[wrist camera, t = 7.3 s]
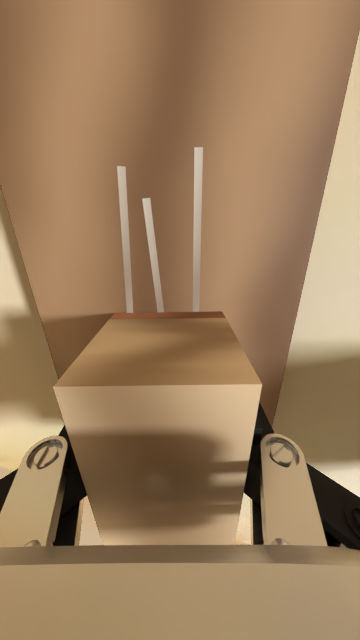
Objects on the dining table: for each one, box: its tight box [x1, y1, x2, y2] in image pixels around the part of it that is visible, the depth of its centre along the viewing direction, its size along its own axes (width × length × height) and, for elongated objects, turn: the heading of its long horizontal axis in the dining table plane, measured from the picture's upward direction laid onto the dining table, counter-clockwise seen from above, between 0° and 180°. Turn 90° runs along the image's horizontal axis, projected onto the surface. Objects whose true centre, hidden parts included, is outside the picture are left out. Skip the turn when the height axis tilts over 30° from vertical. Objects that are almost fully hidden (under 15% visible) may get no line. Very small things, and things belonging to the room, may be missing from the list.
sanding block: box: [53, 311, 262, 545], centre depth 9 cm, size 5×8×5 cm, turn 1°
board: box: [0, 0, 360, 427], centre depth 9 cm, size 12×24×2 cm, turn 1°
